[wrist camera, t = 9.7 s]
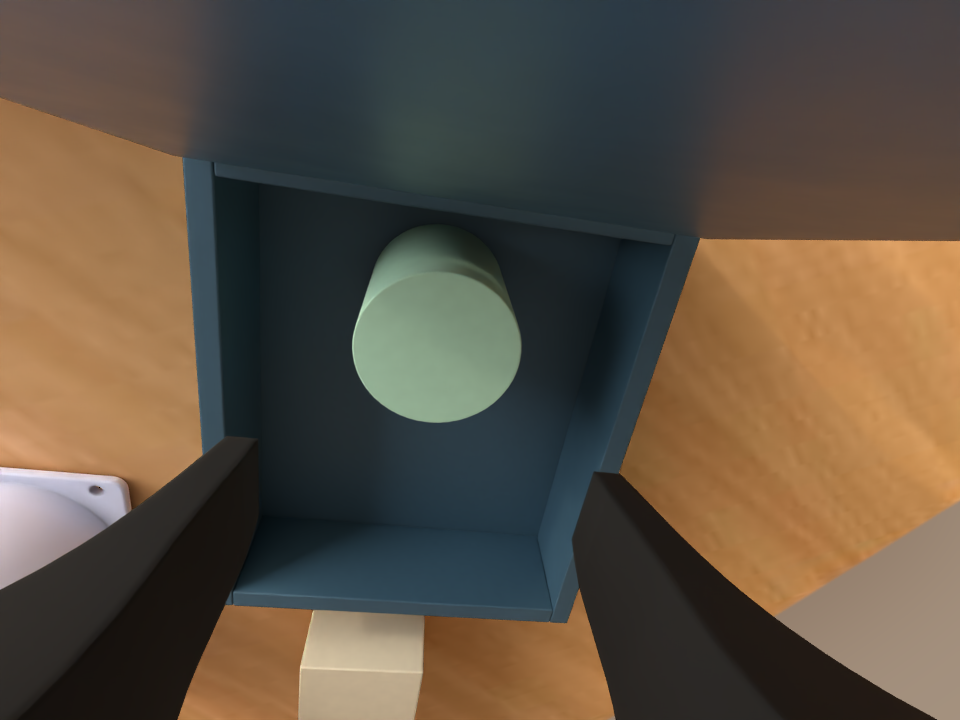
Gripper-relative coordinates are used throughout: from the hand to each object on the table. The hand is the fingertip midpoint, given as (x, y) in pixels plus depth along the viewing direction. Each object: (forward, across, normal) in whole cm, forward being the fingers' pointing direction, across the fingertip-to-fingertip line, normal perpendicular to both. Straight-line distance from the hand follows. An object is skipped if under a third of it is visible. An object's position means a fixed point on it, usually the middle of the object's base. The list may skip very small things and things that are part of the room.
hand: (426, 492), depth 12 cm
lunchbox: (+9, 0, +2) cm, 9 cm away
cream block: (+9, +1, +16) cm, 18 cm away
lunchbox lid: (-4, 0, -7) cm, 8 cm away
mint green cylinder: (+8, 0, -2) cm, 9 cm away
